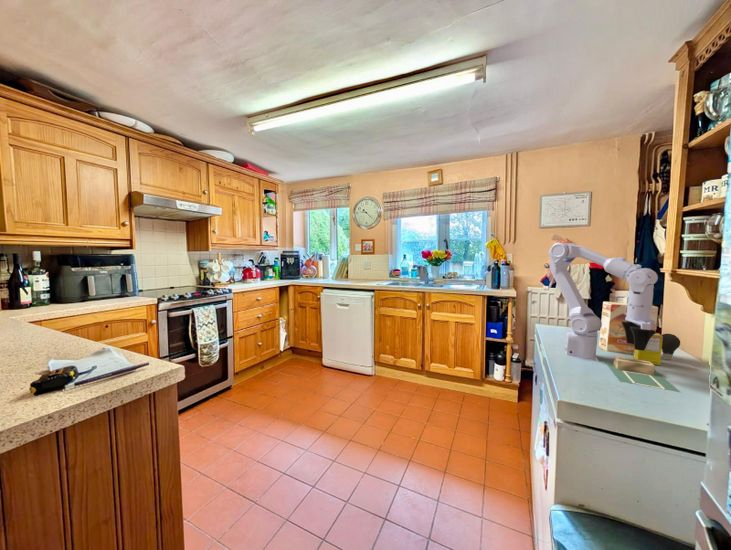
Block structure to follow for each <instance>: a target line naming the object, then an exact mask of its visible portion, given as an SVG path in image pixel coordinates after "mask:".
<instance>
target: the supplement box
mask: <svg viewBox="0 0 731 550" xmlns="http://www.w3.org/2000/svg"><path fill="white" fill-rule="evenodd" d="M661 335H662V334H660V333H658V332H655V334H654V335H653V336H652V337H651V338H650V340H649V341H648V344H647V346H646V348H645V350H644V351H642V350H636V349H635V352H634V355H633V359H637V360H643V361H650V362H651V363H652V364H653V365H654V366H658V367H660V366H661V362H662V361H661V359H662V353H663V352H662V341H663V336H661Z"/></svg>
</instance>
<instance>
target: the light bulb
mask: <svg viewBox="0 0 731 550" xmlns="http://www.w3.org/2000/svg"><path fill="white" fill-rule="evenodd" d="M660 335H661V336H663V341H662V352H661V353H662V359H663V360H667V361H671V360H673V355H674V354H675V351H677V350H678V348H679V347H680V346H681V341H680V338H679V337H677V336H676V335H675V334H673V333H663V334H660Z"/></svg>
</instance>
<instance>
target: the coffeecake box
mask: <svg viewBox="0 0 731 550" xmlns="http://www.w3.org/2000/svg"><path fill="white" fill-rule="evenodd" d="M627 306H628V302H616V301H615V302H614V301H603V302H602V311H601V318H600V320H601V322H602V327H601V328H600V330H599V339H598V340H599V342H598V348H599V347H600V348H599V349H600V350H602V349H603V350H602V351H603V352H611V353H618V354H625V355H633V356H634V352H635V347H634V344H630V343H627V340H626V334H625V330H624V327H623V325H622V323H621V322H622V321H623V322H627V320H625V318H626V316H627ZM658 312H659V307H658V306H655V305H652V310H651V319H650V320H654V321H655V323H651V328H650V330H655V331H656V330H657V321H658V315H659V314H658Z"/></svg>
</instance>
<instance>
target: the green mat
mask: <svg viewBox="0 0 731 550" xmlns="http://www.w3.org/2000/svg"><path fill="white" fill-rule="evenodd" d="M604 363H605V364H606V366H607V367H608V368H609V370H610V371H611V372H612V373H613V375H614V376H615V377H616V378H617V379H618V381H619V382H621V383H627V384H631V385H632V384H633V385H637V386H642V387H643V386H644V387H647V388H648V387H649V388H654V389H661V390H665V391H671V392H678V393H681V391H680V390H679V389H678V388H676V386H675V385H673V383H671V382H670V381H668V380H667V379H666V378H665V377H664V376H663V375H662V374H660V373H659V372H658V371H657V370H655V371H654V375H650V374H644V373H637V372H631V371H625V370H619V369H617V368H616V367H615V366H614V365H613V364H614V362H610V361H609V362H608V361H605V362H604Z"/></svg>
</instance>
